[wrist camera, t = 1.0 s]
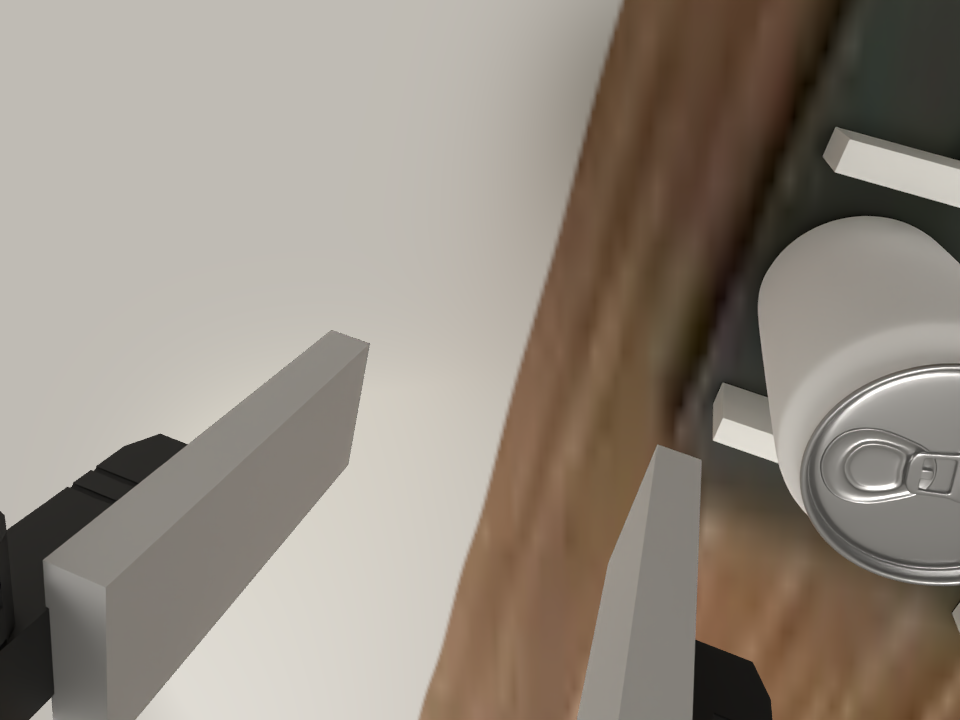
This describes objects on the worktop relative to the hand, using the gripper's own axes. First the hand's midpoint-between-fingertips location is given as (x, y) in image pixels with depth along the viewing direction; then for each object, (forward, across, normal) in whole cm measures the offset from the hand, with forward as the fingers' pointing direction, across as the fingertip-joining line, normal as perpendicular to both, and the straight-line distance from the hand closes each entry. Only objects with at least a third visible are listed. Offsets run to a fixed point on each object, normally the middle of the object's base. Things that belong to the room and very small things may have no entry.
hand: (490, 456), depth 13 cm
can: (+17, +9, 0) cm, 19 cm away
